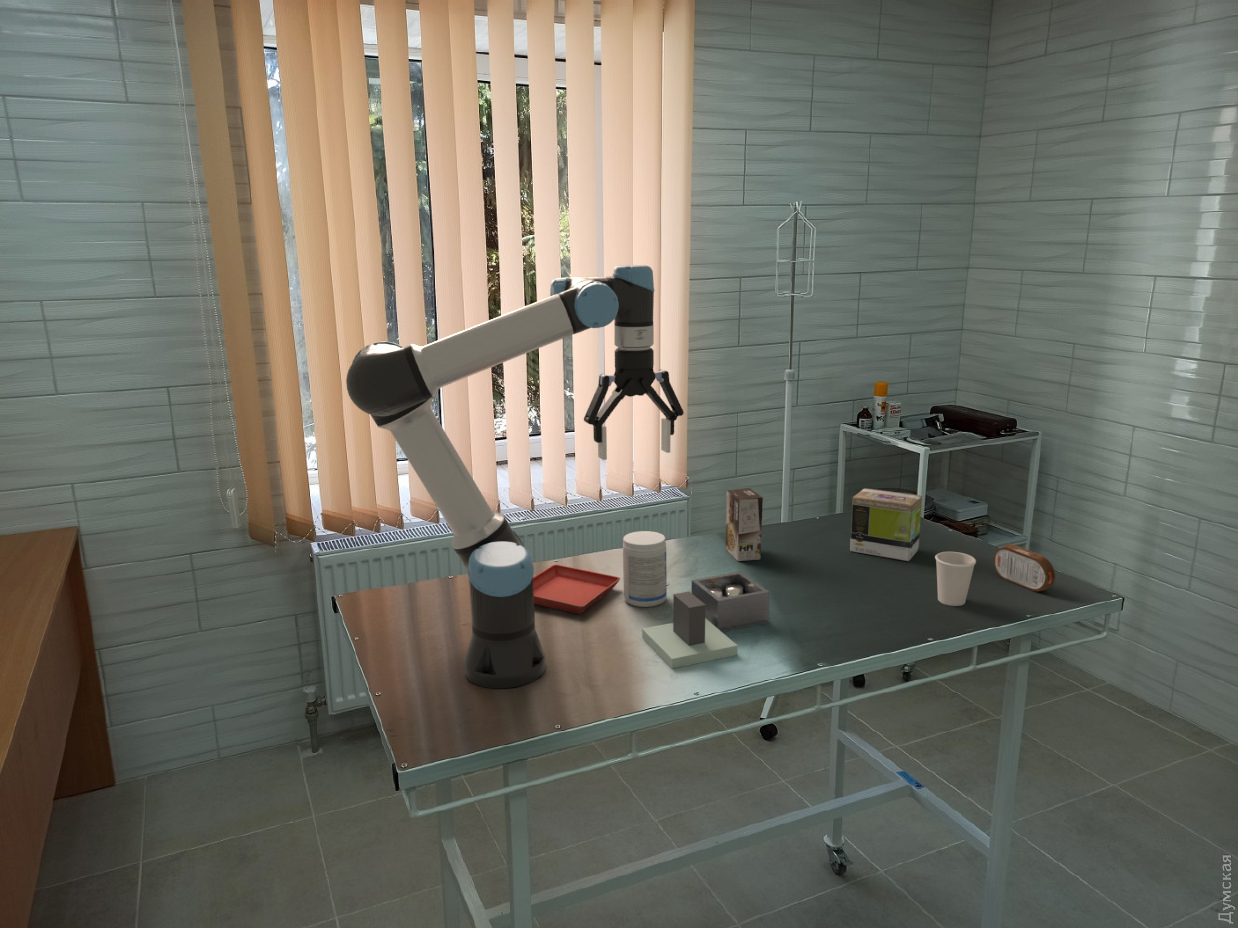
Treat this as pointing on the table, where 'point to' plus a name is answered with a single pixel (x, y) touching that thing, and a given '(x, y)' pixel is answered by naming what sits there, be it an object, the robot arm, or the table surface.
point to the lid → (688, 635)
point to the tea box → (886, 523)
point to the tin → (1024, 567)
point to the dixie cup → (953, 577)
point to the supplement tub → (644, 568)
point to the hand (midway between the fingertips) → (634, 454)
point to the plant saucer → (571, 588)
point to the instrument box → (732, 601)
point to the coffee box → (744, 524)
